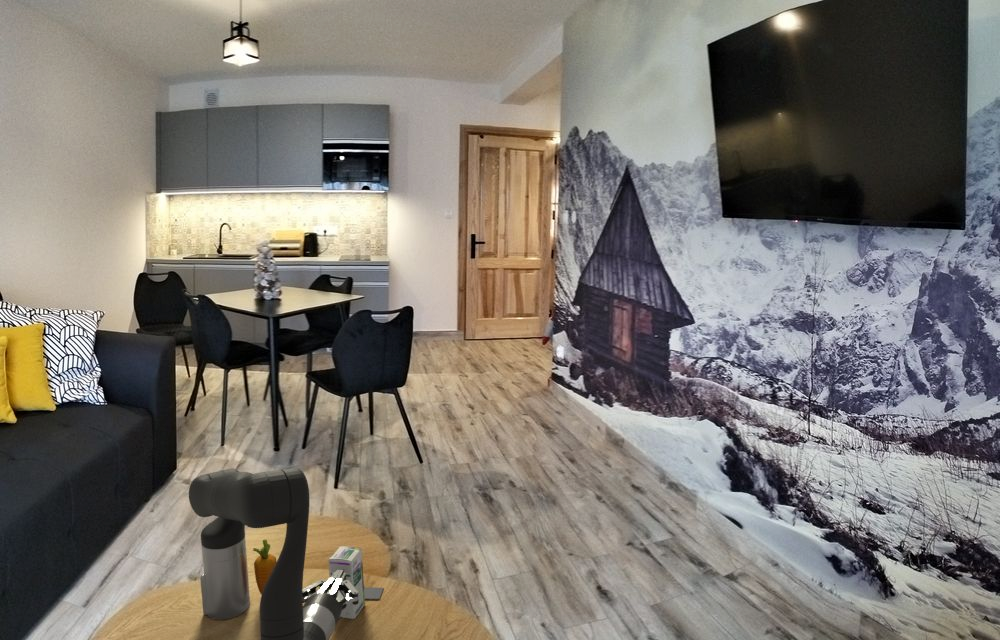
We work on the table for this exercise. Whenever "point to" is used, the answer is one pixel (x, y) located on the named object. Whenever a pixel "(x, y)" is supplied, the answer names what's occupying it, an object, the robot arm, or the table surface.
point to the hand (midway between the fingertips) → (340, 573)
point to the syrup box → (350, 575)
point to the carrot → (263, 565)
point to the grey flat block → (372, 593)
